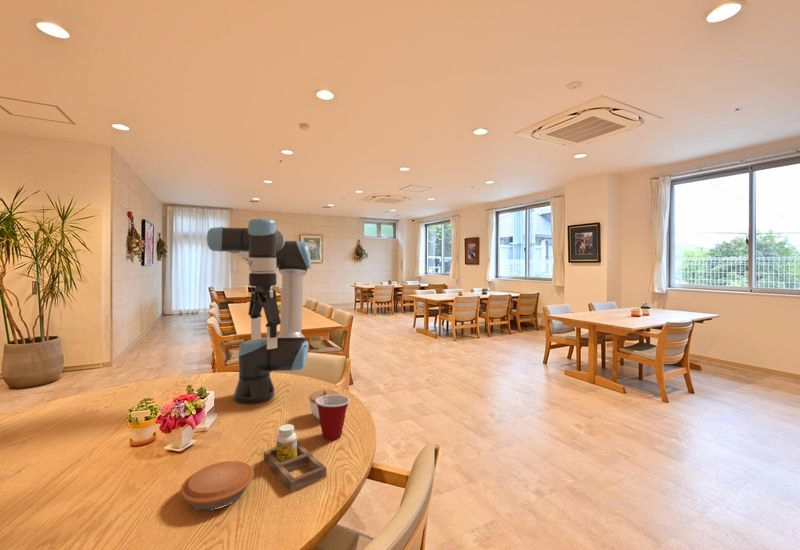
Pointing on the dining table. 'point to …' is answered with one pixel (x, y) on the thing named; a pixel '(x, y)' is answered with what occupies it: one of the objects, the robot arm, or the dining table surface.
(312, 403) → the lidded jar
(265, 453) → the two-window wooden frame
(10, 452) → the dining table surface
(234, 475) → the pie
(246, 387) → the robot arm
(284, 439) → the supplement bottle
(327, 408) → the plastic cup
